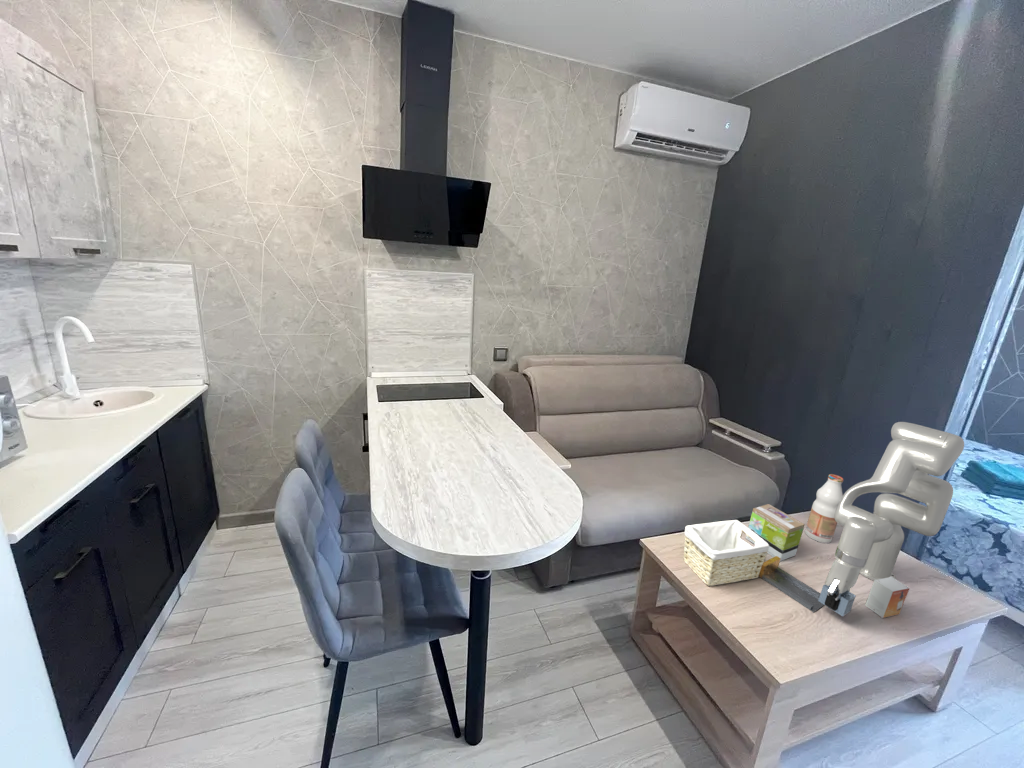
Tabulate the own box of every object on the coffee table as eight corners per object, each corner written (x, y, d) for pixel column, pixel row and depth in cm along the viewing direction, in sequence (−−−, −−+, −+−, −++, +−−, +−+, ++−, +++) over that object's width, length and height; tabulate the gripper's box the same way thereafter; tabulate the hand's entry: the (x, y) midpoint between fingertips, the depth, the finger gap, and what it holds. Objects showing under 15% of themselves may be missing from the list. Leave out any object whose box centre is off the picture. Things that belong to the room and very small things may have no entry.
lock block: (825, 596, 139) (830, 580, 137) (850, 611, 133) (855, 595, 131) (818, 600, 136) (823, 585, 135) (842, 616, 130) (848, 600, 129)
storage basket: (705, 589, 143) (714, 553, 139) (676, 558, 158) (683, 524, 154) (763, 580, 149) (772, 545, 145) (729, 551, 164) (737, 518, 160)
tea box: (744, 538, 172) (752, 507, 168) (760, 533, 176) (768, 502, 172) (779, 562, 159) (789, 528, 155) (796, 556, 163) (806, 523, 159)
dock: (773, 567, 156) (776, 555, 154) (828, 602, 141) (832, 589, 139) (757, 575, 151) (760, 563, 150) (813, 612, 136) (817, 599, 134)
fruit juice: (800, 533, 178) (817, 474, 170) (810, 527, 183) (828, 469, 175) (825, 546, 170) (844, 484, 163) (835, 539, 175) (854, 479, 168)
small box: (882, 618, 135) (892, 591, 132) (864, 605, 140) (873, 579, 137) (900, 614, 137) (910, 588, 134) (881, 601, 142) (891, 575, 139)
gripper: (849, 542, 137) (834, 588, 142) (823, 556, 128) (808, 605, 133) (877, 556, 131) (860, 604, 136) (852, 572, 122) (834, 622, 127)
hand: (834, 604), depth 134 cm, fingers closed on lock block, 5 cm apart
